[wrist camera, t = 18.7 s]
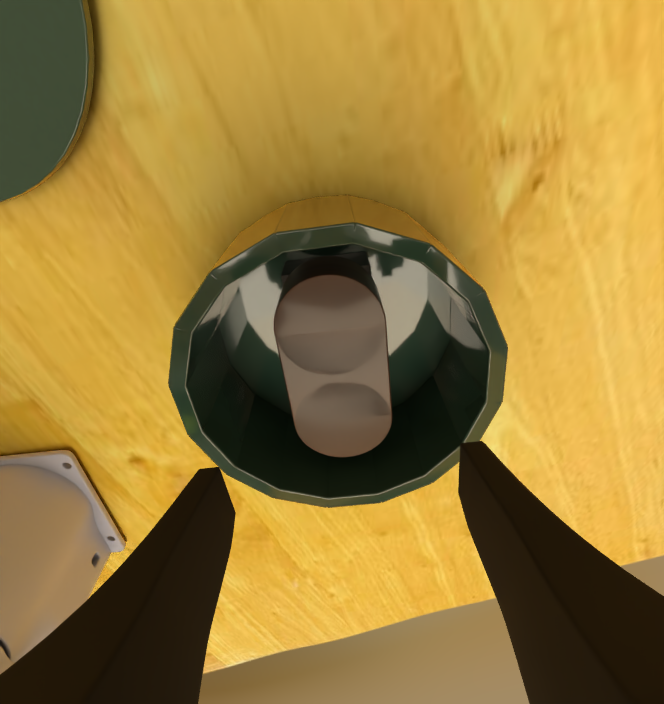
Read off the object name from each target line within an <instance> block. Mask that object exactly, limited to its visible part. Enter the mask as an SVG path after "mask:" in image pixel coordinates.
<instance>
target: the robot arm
mask: <svg viewBox="0 0 664 704" xmlns="http://www.w3.org/2000/svg"><path fill="white" fill-rule="evenodd" d="M458 493H459V496H460V500H461V504H462V508H463V511H464V515H465V518H466V522H467V525H468V528H469V531H470V533H471V536H472V538H473V541H474V543H475V546H476V548H477V551H478V553H479V556H480V558H481V561H482V563H483V566H484V568H485V571H486V573H487V576H488V578H489V581H490V583H491V586H492V588H493V591H494V593H495V596H496V598H497V600H498V603H499V605H500V608H501V611H502V614H503V617H504V620H505V623H506V626H507V629H508V632H509V636H510V639H511V642H512V645H513V648H514V652H515V655H516V659H517V662H518V665H519V669H520V672H521V676H522V679H523V682H524V686H525V689H526V693H527V696H528V700H529V703H530V704H664V596H662V595H661V594H659V593H658V592H656V591H655V590H654V589H652V588H650V587H649V586H647V585H646V584H645V583H643V582H642V581H640V580H639V579H637V578H636V577H634V576H633V575H631V574H630V573H628V572H627V571H625V570H624V569H623V568H621V567H620V566H619V565H617V564H616V563H614V562H613V561H612V560H610V559H609V558H608V557H606V556H605V555H604V554H602V553H601V552H600V551H598V550H597V549H596V548H595V547H593V546H592V545H591V544H590V543H588V542H587V541H586V540H584V539H583V538H582V537H581V536H580V535H578V534H577V533H576V532H575V531H574V530H572V529H571V528H570V527H569V526H568V525H566V524H565V523H564V522H563V521H562V520H561V519H560V518H558V517H557V516H556V515H555V514H554V513H553V512H552V511H551V510H549V509H548V508H547V507H546V506H545V505H544V504H543V503H542V502H541V501H540V500H539V499H538V498H537V497H536V496H535V495H534V494H533V493H532V492H530V491H529V490H528V489H527V488H526V487H525V486H524V485H523V484H522V483H521V482H520V481H519V480H518V479H517V478H516V477H515V476H514V475H513V474H512V473H511V471H510V470H509V469H508V468H507V467H506V466H505V465H504V464H503V463H502V462H501V461H500V460H499V459H498V458H497V457H496V455H495V454H494V453H493V452H492V451H491V450H490V449H489V448H488V447H487V445H486V444H485V443H483V442H482V441H476V442H466V443H460V463H459V488H458ZM234 521H235V510H234V507H233V504H232V502H231V499H230V496H229V493H228V490H227V488H226V485H225V482H224V479H223V476H222V474H221V471H220V468H219V467H215V468H205V469H199V470H198V471H197V473H196V474H195V475H194V477H193V478H192V479H191V480H190V482H189V483H188V484H187V486H186V487H185V488H184V490H183V491H182V492H181V493H180V495H179V496H178V497H177V499H176V500H175V501H174V503H173V504H172V505H171V506H170V508H169V509H168V510H167V512H166V513H165V514H164V515H163V517H162V518H161V519H160V520H159V522H158V523H157V524H156V525H155V527H154V528H153V529H152V530H151V531H150V533H149V534H148V535H147V536H146V537H145V539H144V540H143V541H142V542H141V543H140V544H139V546H138V547H137V548H136V549H135V550H134V551H133V552H132V554H131V555H130V556H129V557H128V558H127V559H126V561H125V562H124V563H123V564H122V565H121V566H120V567H119V568H118V569H117V570H116V571H115V572H114V574H113V575H112V576H111V577H110V578H109V579H108V580H107V581H106V582H105V583H104V584H103V585H102V586H101V587H100V588H99V589H98V590H97V591H96V592H95V593H94V594H93V595H92V596H91V597H90V598H89V596H90V594H91V592H92V590H93V588H94V586H95V584H96V582H97V580H98V578H99V576H100V574H101V572H102V570H103V568H104V566H105V564H106V562H107V560H108V558H109V556H110V554H111V552H120V551H122V550H124V548H125V545H126V543H125V541H124V539H123V538H122V536H121V534H120V532H119V531H118V529H117V527H116V526H115V524H114V522H113V521H112V519H111V517H110V515H109V514H108V512H107V510H106V509H105V507H104V505H103V503H102V502H101V500H100V498H99V497H98V495H97V493H96V491H95V490H94V488H93V486H92V485H91V483H90V481H89V479H88V478H87V476H86V474H85V473H84V471H83V469H82V467H81V466H80V464H79V462H78V461H77V459H76V457H75V455H74V454H73V453H72V452H71V451H68V450H56V451H47V452H37V453H27V454H18V455H8V456H0V704H198V699H199V693H200V686H201V680H202V674H203V667H204V661H205V655H206V649H207V643H208V639H209V634H210V629H211V625H212V621H213V617H214V613H215V609H216V605H217V601H218V597H219V593H220V590H221V586H222V582H223V578H224V574H225V570H226V566H227V562H228V558H229V554H230V549H231V544H232V537H233V530H234ZM88 598H89V599H88Z"/></svg>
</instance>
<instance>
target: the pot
mask: <svg viewBox="0 0 664 704" xmlns="http://www.w3.org/2000/svg"><path fill="white" fill-rule="evenodd" d="M357 252H366V254H367V257H368V260H369V264H370V273H371V277H372V278H373V280H374V281H375V284H376V286H377V288H378V292H379V295H380V299H381V302H382V305H383V309H384V312H385V316H386V325H387V341H388V356H389V371H390V387H391V402H392V424H391V428H390V430H389V432H388V434H387V436H386V437H385V438H384V440H383V441H382V442H381V443H380V444H379V445H377V446H376V447H375V448H373V449H372V450H370V451H368V452H366V453H363V454H360V455H356V456H351V457H333V456H328V455H324V454H321V453H319V452H317V451H315V450H313V449H311V448H310V447H308V446H307V445H306V444H305V443H304V442H303V441H302V440H301V438H300V437H299V436H298V434H297V432H296V429H295V426H294V422H293V417H292V412H291V408H290V403H289V399H288V394H287V389H286V385H285V380H284V376H283V371H282V366H281V362H280V357H279V353H278V348H277V343H276V339H275V335H274V316H275V312H276V308H277V304H278V300H279V297H280V293H281V290H282V287H283V284H282V279H281V274H282V271H283V267H284V264H285V262H286V261H293V260H301V259H309V258H317V257H322V256H333V255H341V254H349V253H357ZM507 352H508V347H507V343H506V340H505V338H504V335H503V333H502V330H501V328H500V325H499V323H498V320H497V318H496V315H495V313H494V311H493V308H492V306H491V303H490V301H489V298H488V296H487V293H486V291H485V290H484V289H483V287H482V286H481V285H480V284H479V283H478V282H477V281H476V279H475V278H474V277H473V276H472V275H471V274H470V273H469V272H468V271H467V270H466V269H465V268H464V266H463V265H462V264H461V263H460V262H459V261H458V260H457V259H456V258H455V257H454V256H453V255H452V254H451V252H450V251H449V250H448V249H447V248H446V247H445V246H444V245H443V244H442V243H440V242H439V241H438V240H437V239H436V238H435V237H434V236H432V235H431V234H430V233H429V232H428V231H427V230H426V229H425V228H424V227H423V226H421V225H420V224H419V223H417V222H416V221H415V220H414V219H413V218H412V217H410V216H409V215H408V214H407V213H406V212H404V211H402V210H399V209H395V208H393V207H390V206H387V205H385V204H382V203H379V202H377V201H373V200H369V199H364V198H359V197H354V196H351V195H341V196H338V195H337V196H321V197H314V198H309V199H304V200H300V201H296V202H290V203H287V204H285V205H284V206H282V207H280V208H278V209H277V210H275V211H273V212H271V213H269V214H267V215H265V216H264V217H262V218H261V219H260V220H258V221H257V222H255V223H254V224H253V225H251V226H249V227H248V228H246V229H245V230H243V231H241V232H240V233H239V234H238V236H237V237H236V238H235V239H234V241H233V242H232V243H231V245H230V246H229V247H228V248H227V250H226V251H225V252H224V254H223V255H222V256H221V257H220V259H219V260H218V261H217V263H216V264H215V265H214V266H213V268H212V269H211V270H210V272H209V273H208V274H207V276H206V278H205V279H204V281H203V282H202V284H201V285H200V287H199V288H198V290H197V291H196V293H195V294H194V296H193V297H192V299H191V301H190V302H189V304H188V305H187V307H186V308H185V310H184V311H183V313H182V314H181V316H180V317H179V319H178V320H177V322H176V323H175V326H174V328H173V338H172V349H171V359H170V370H169V380H168V384H169V388H170V390H171V393H172V396H173V398H174V401H175V403H176V406H177V409H178V411H179V414H180V416H181V419H182V421H183V424H184V427H185V429H186V432H187V434H188V435H189V437H190V438H191V439H192V440H193V441H194V442H195V443H196V444H197V445H198V446H199V447H200V448H201V449H202V450H203V451H204V452H205V453H206V454H207V455H208V456H209V457H210V458H211V459H212V461H213V462H214V463H215V464H216V465H217V466H218V467H219V468H220V469H221V470H222V471H223V472H224V473H226V475H228V476H230V477H232V478H234V479H236V480H238V481H240V482H242V483H244V484H246V485H248V486H250V487H252V488H254V489H256V490H258V491H260V492H262V493H264V494H266V495H268V496H270V497H272V498H275V499H281V500H286V501H292V502H297V503H303V504H308V505H314V506H319V507H325V508H326V507H328V508H332V507H342V506H353V505H364V504H375V503H381V502H385V501H388V500H390V499H393V498H395V497H398V496H401V495H403V494H406V493H408V492H411V491H414V490H416V489H419V488H421V487H424V486H427V485H429V484H431V483H433V482H435V481H436V480H437V479H438V478H440V477H441V476H442V475H443V474H445V473H446V472H447V471H448V470H450V469H451V468H452V467H453V466H455V465H456V464H457V463H458V462H460V443H466V442H476V441H480V439H481V438H482V436H483V434H484V433H485V431H486V429H487V428H488V426H489V424H490V423H491V421H492V419H493V417H494V416H495V414H496V412H497V411H498V409H499V407H500V406H501V403H502V402H503V392H504V382H505V372H506V362H507Z"/></svg>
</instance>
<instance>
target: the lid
mask: <svg viewBox="0 0 664 704" xmlns="http://www.w3.org/2000/svg"><path fill="white" fill-rule="evenodd" d="M93 77H94V44H93V29H92V23H91V17H90V11H89V5H88V0H0V202H2V201H7V200H10V199H13V198H15V197H18V196H20V195H23V194H25V193H28V192H30V191H31V190H33V189H34V188H36V187H38V186H39V185H41V184H42V183H44V182H45V181H46V180H47V179H48V178H50V177H51V176H52V175H53V174H54V173H55V172H56V171H57V170H58V169H59V168H60V167H61V166H62V164H63V163H64V162H65V160H66V159H67V158H68V156H69V155H70V154H71V152H72V150H73V148H74V146H75V145H76V143H77V141H78V139H79V137H80V135H81V133H82V130H83V127H84V124H85V121H86V118H87V115H88V112H89V106H90V101H91V95H92V90H93Z"/></svg>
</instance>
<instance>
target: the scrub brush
mask: <svg viewBox="0 0 664 704" xmlns="http://www.w3.org/2000/svg"><path fill="white" fill-rule="evenodd" d="M281 279H282V284H283V287H282V290H281V293H280V297H279V300H278V304H277V308H276V312H275V316H274V335H275V339H276V343H277V348H278V353H279V357H280V362H281V366H282V371H283V376H284V380H285V385H286V389H287V394H288V399H289V403H290V408H291V412H292V417H293V422H294V426H295V429H296V432H297V434H298V436H299V437H300V438H301V440H302V441H303V442H304V443H305V444H306V445H307V446H308V447H310V448H311V449H313V450H315V451H317V452H319V453H321V454H324V455H328V456H333V457H351V456H356V455H360V454H363V453H366V452H368V451H370V450H372V449H373V448H375V447H376V446H377V445H379V444H380V443H381V442H382V441H383V440H384V438H385V437H386V436H387V434H388V432H389V430H390V428H391V424H392V402H391V387H390V371H389V356H388V341H387V325H386V316H385V312H384V309H383V305H382V302H381V299H380V295H379V292H378V288H377V286H376V284H375V281H374V280H373V278H372V277H371V273H370V264H369V260H368V257H367V254H366V252H357V253H349V254H341V255H333V256H322V257H317V258H309V259H301V260H293V261H286V262H285V264H284V267H283V271H282V274H281Z"/></svg>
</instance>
